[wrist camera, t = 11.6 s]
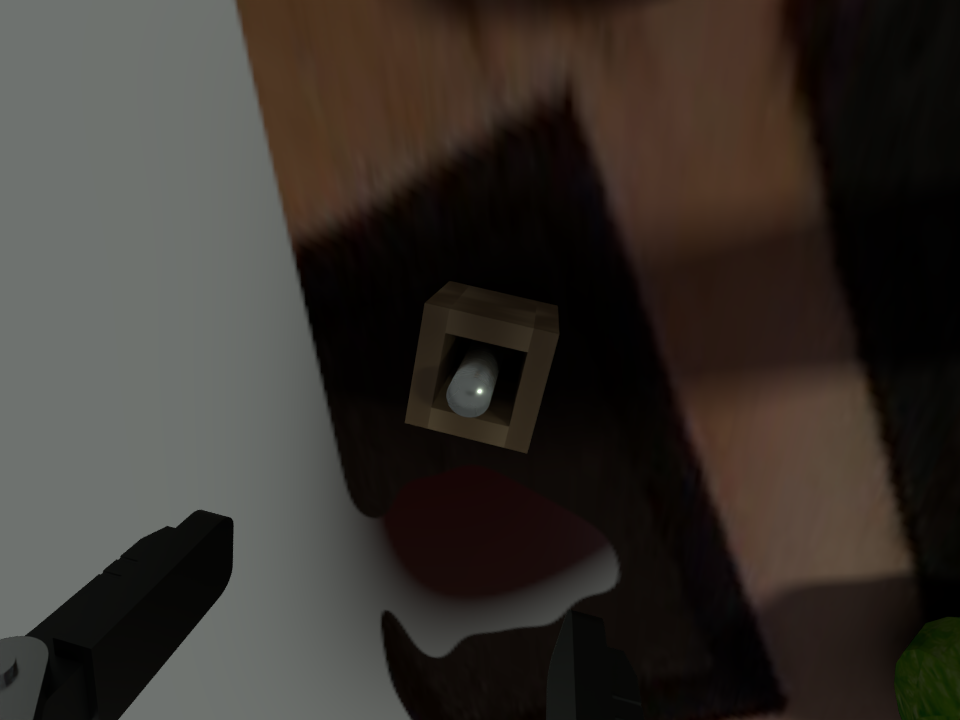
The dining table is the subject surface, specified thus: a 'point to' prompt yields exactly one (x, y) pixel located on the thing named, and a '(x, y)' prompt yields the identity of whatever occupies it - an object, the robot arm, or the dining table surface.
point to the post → (480, 375)
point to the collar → (489, 322)
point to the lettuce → (930, 673)
